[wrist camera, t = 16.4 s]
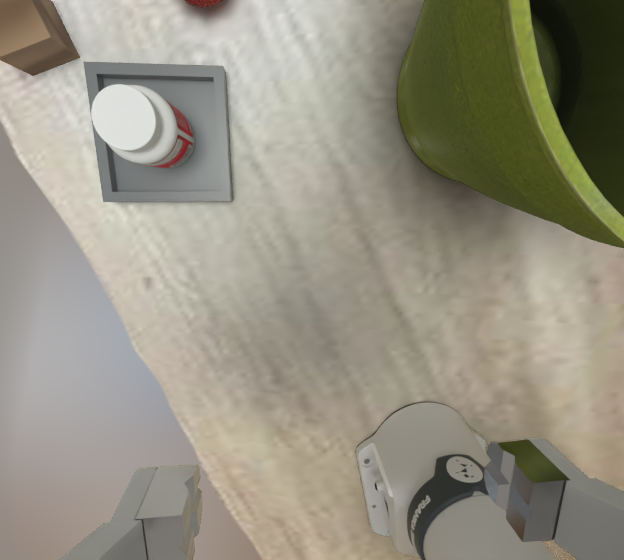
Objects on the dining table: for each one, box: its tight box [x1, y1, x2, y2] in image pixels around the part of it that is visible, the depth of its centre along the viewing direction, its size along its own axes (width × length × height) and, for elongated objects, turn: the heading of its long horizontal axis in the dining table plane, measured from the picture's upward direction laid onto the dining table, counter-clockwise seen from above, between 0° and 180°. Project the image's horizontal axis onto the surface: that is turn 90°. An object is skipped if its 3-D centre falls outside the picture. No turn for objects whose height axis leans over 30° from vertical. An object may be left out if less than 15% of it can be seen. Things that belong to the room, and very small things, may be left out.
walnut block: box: [0, 0, 80, 76], centre depth 33 cm, size 5×5×5 cm
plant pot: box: [397, 0, 624, 248], centre depth 27 cm, size 30×30×29 cm
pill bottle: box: [91, 84, 195, 168], centre depth 32 cm, size 6×6×11 cm
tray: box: [84, 62, 233, 202], centre depth 37 cm, size 13×13×2 cm
